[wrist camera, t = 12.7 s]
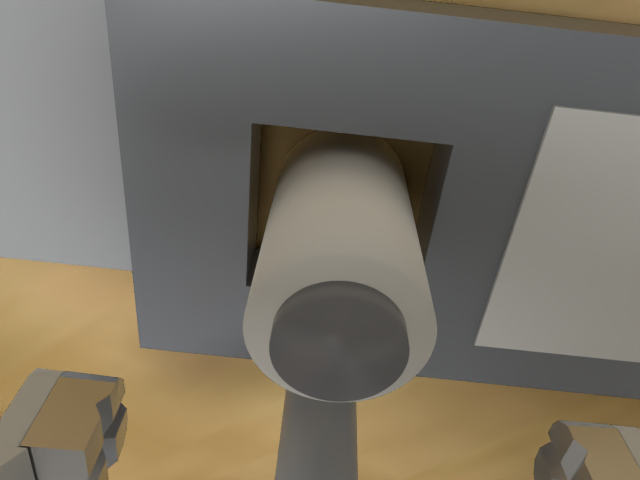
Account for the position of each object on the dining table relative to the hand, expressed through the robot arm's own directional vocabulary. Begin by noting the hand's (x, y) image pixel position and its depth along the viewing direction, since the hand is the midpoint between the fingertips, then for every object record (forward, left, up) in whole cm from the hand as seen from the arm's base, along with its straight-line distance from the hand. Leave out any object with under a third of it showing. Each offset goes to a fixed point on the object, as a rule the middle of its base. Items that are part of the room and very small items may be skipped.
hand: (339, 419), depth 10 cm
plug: (0, 0, -11) cm, 11 cm away
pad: (+10, +6, -11) cm, 16 cm away
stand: (-4, -2, -11) cm, 11 cm away
